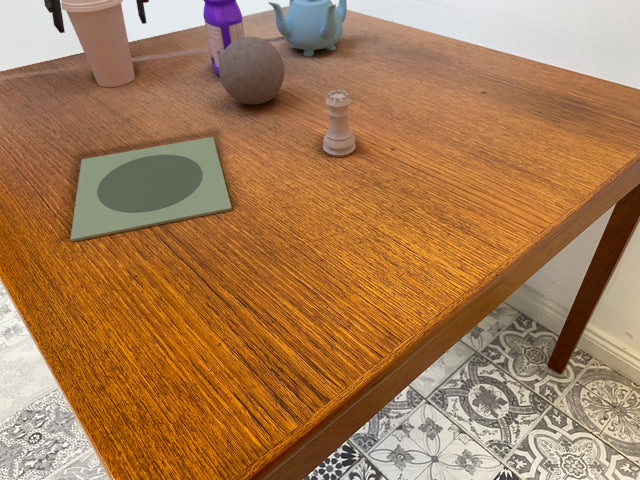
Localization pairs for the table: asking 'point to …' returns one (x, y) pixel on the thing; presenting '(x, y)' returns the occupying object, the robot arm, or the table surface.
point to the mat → (148, 188)
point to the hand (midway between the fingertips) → (101, 24)
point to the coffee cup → (102, 39)
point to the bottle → (222, 27)
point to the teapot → (311, 24)
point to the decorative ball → (251, 70)
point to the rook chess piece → (338, 126)
